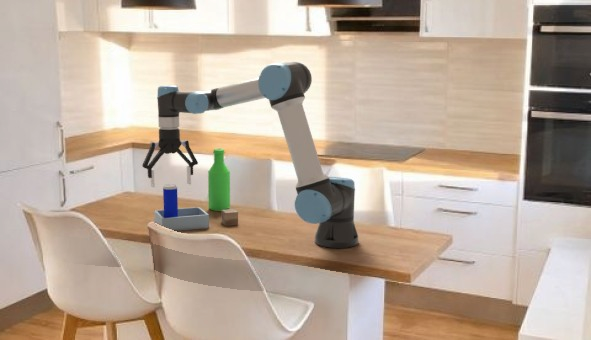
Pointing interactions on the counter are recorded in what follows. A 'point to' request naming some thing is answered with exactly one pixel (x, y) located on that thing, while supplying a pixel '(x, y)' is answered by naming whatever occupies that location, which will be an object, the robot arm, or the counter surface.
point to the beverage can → (170, 201)
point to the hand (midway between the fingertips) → (171, 185)
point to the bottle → (219, 183)
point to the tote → (183, 219)
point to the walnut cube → (230, 217)
